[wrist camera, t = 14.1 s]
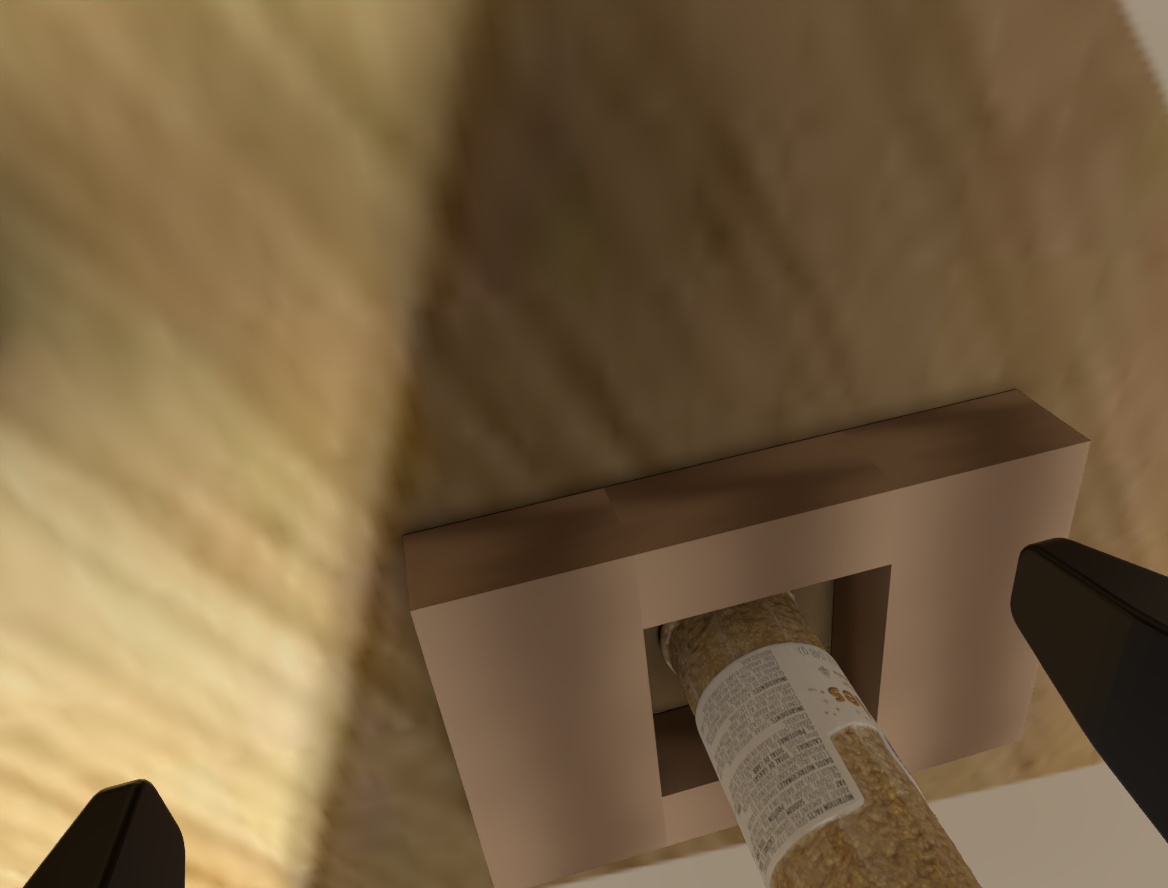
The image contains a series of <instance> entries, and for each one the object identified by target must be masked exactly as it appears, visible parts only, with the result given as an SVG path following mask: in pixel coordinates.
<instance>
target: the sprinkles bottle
mask: <svg viewBox="0 0 1168 888" xmlns="http://www.w3.org/2000/svg"><path fill="white" fill-rule="evenodd" d="M660 646H661V650H662V654H663V657H664V659H665V661H666V663H667V665H668V666H669V668H670V669H671V670H672V671H673V672H674V673H675V674H676V675H677V678H678V680H679V682H680V684H681V686H682V689H683V690H684V693H685V695H686V698H687V701H688V703H689V706H690V708H691V710H692V712H693V714H694V715H695V720H696V725H697V729H698V732H699V734H700V737H701V739H702V741H703V744H704V746H705V748H706V750H707V753H708V755H709V757H710V760H711V762H712V764H713V767H714V769H715V771H716V774H717V776H718V778H719V781H720V783H721V785H722V788H723V790H724V792H725V794H726V797H727V799H728V801H729V804H730V806H731V808H732V811H733V813H734V815H735V818H736V820H737V822H738V825H739V827H740V829H741V831H742V834H743V836H744V838H745V841H746V843H747V845H748V847H749V849H750V852H751V854H752V856H753V859H754V861H755V863H756V865H757V868H758V870H759V872H760V874H761V877H762V879H763V881H764V883H765V885H766V888H982V887H981V886H980V884H979V883H978V882H977V880H976V878H975V876H974V875H973V873H972V871H971V869H970V868H969V867H968V865H967V864H966V863H965V862H964V860H963V858H962V856H961V855H960V853H959V852H958V850H957V849H956V847H955V845H954V843H953V842H952V841H951V839H950V838H949V836H948V835H947V834H946V832H945V831H944V829H943V828H942V826H941V825H940V823H939V822H938V819H937V817H936V816H935V814H934V813H933V812H932V811H931V810H930V808H929V806H928V805H927V801H926V800H925V798H924V796H923V794H922V793H921V791H920V789H919V787H918V786H917V784H916V783H915V781H914V780H913V778H912V776H911V775H910V773H909V772H908V770H907V769H906V767H905V766H904V764H903V763H902V761H901V760H900V758H899V757H898V755H897V754H896V752H895V751H894V749H893V748H892V746H891V744H890V743H889V741H888V740H887V738H886V737H885V735H884V734H883V732H882V731H881V729H880V727H879V726H878V724H877V723H876V722H875V720H874V719H873V717H872V716H871V714H870V713H869V711H868V710H867V708H866V707H865V705H864V704H863V702H862V701H861V699H860V698H859V696H858V695H857V693H856V691H855V690H854V688H853V687H852V685H851V684H850V682H849V681H848V679H847V678H846V676H845V675H844V673H843V672H842V670H841V669H840V667H839V666H838V664H837V662H836V661H835V660H834V659H833V658H832V657H831V656H830V655H829V654H828V653H827V652H826V650H825V649H824V647H823V646H822V644H821V643H820V640H819V639H818V637H817V636H816V634H815V633H814V632H813V630H812V629H811V627H810V626H809V625H808V623H807V622H806V620H805V619H804V617H803V615H802V613H801V612H800V610H799V608H798V605H797V601H796V598H795V596H794V594H793V593H792V591H787V592H783V593H780V594H776V595H772V596H768V597H764V598H761V599H757V600H753V601H749V602H745V603H742V604H738V605H734V606H730V607H726V608H723V609H719V610H715V611H711V612H707V613H704V614H700V615H696V616H692V617H688V618H685V619H681V620H677V621H673V622H669V623H666V624H663V625H662V628H661V633H660Z"/></svg>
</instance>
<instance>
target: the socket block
mask: <svg viewBox="0 0 1168 888" xmlns="http://www.w3.org/2000/svg"><path fill="white" fill-rule="evenodd" d="M1090 443H1091V440H1089V439H1088V438H1086V437H1085V436H1083V435H1082V434H1080V433H1079V432H1078V431H1076V430H1075V429H1073V428H1072V427H1070V426H1069V425H1068V424H1066V423H1065V422H1063V421H1062V420H1060V419H1059V418H1057V417H1056V416H1055V415H1053V414H1052V413H1050V412H1049V411H1047V410H1046V409H1045V408H1043V407H1042V406H1040V405H1039V404H1037V403H1036V402H1034V401H1033V400H1032V399H1030V398H1029V397H1027V396H1026V395H1024V394H1023V393H1022V392H1020V391H1019V390H1013V391H1008V392H1004V393H1000V394H996V395H992V396H987V397H983V398H979V399H975V400H971V401H966V402H962V403H958V404H954V405H950V406H945V407H941V408H937V409H933V410H929V411H924V412H920V413H916V414H912V415H908V416H903V417H899V418H895V419H891V420H887V421H882V422H878V423H874V424H870V425H866V426H861V427H857V428H853V429H849V430H845V431H841V432H836V433H832V434H828V435H824V436H820V437H815V438H811V439H807V440H803V441H799V442H794V443H790V444H786V445H782V446H778V447H773V448H769V449H765V450H761V451H757V452H752V453H748V454H744V455H740V456H736V457H731V458H727V459H723V460H719V461H715V462H710V463H706V464H702V465H698V466H694V467H689V468H685V469H681V470H677V471H673V472H669V473H664V474H660V475H656V476H652V477H648V478H643V479H639V480H635V481H631V482H627V483H622V484H618V485H614V486H610V487H606V488H601V489H597V490H593V491H589V492H585V493H580V494H576V495H572V496H568V497H564V498H559V499H555V500H551V501H547V502H543V503H538V504H534V505H530V506H526V507H522V508H518V509H513V510H509V511H505V512H501V513H497V514H492V515H488V516H484V517H480V518H476V519H471V520H467V521H463V522H459V523H455V524H450V525H446V526H442V527H438V528H434V529H429V530H425V531H421V532H417V533H413V534H408V535H404V536H402V537H403V547H404V557H405V566H406V576H407V586H408V596H409V606H410V613H411V616H412V619H413V623H414V626H415V629H416V632H417V636H418V639H419V642H420V646H421V649H422V652H423V655H424V659H425V662H426V665H427V668H428V672H429V675H430V678H431V682H432V685H433V688H434V691H435V695H436V698H437V701H438V704H439V708H440V711H441V714H442V718H443V721H444V724H445V727H446V731H447V734H448V737H449V741H450V744H451V747H452V750H453V754H454V757H455V760H456V763H457V767H458V770H459V773H460V777H461V780H462V783H463V786H464V790H465V793H466V796H467V799H468V803H469V806H470V809H471V813H472V816H473V819H474V822H475V826H476V829H477V832H478V835H479V839H480V842H481V845H482V849H483V852H484V855H485V858H486V862H487V865H488V868H489V871H490V875H491V878H492V881H493V885H494V888H530V887H533V886H536V885H540V884H543V883H546V882H550V881H553V880H556V879H560V878H563V877H566V876H570V875H573V874H576V873H580V872H583V871H586V870H590V869H593V868H596V867H600V866H603V865H606V864H610V863H613V862H616V861H620V860H623V859H626V858H630V857H633V856H636V855H640V854H643V853H646V852H650V851H653V850H656V849H660V848H663V847H667V846H670V845H673V844H677V843H680V842H683V841H687V840H690V839H693V838H697V837H700V836H703V835H707V834H710V833H713V832H717V831H720V830H723V829H727V828H730V827H733V826H737V825H738V822H737V820H736V818H735V815H734V813H733V811H732V808H731V806H730V804H729V801H728V799H727V797H726V794H725V792H724V790H723V788H722V785H721V783H720V781H719V778H718V776H717V774H716V771H715V769H714V767H713V764H712V762H711V760H710V757H709V755H708V753H707V750H706V748H705V746H704V744H703V741H702V739H701V737H700V734H699V732H698V729H697V725H696V720H695V715H694V714H693V712H692V710H691V708H690V706H686V707H683V708H679V709H676V710H672V711H668V712H665V713H661V714H658V715H654V716H653V713H652V704H651V695H650V686H649V677H648V668H647V660H646V651H645V642H644V633H643V629H647V628H650V627H654V626H658V625H662V624H666V623H669V622H673V621H677V620H681V619H685V618H688V617H692V616H696V615H700V614H704V613H707V612H711V611H715V610H719V609H723V608H726V607H730V606H734V605H738V604H742V603H745V602H749V601H753V600H757V599H761V598H764V597H768V596H772V595H776V594H780V593H783V592H787V591H791V590H795V589H799V588H803V587H806V586H810V585H814V584H818V583H822V582H825V581H829V580H833V579H835V589H834V610H833V630H832V651H831V657H832V658H833V659H834V660H835V661H836V662H837V664H838V666H839V667H840V669H841V670H842V672H843V673H844V675H845V676H846V678H847V679H848V681H849V682H850V684H851V685H852V687H853V688H854V690H855V691H856V693H857V695H858V696H859V698H860V699H861V701H862V702H863V704H864V705H865V707H866V708H867V710H868V711H869V713H870V714H871V716H872V717H873V719H874V720H875V722H876V723H877V724H878V726H879V727H880V729H881V731H882V732H883V734H884V735H885V737H886V738H887V740H888V741H889V743H890V744H891V746H892V748H893V749H894V751H895V752H896V754H897V755H898V757H899V758H900V760H901V761H902V763H903V764H904V766H905V767H906V769H907V770H908V772H909V773H914V772H917V771H920V770H924V769H927V768H930V767H934V766H937V765H940V764H944V763H947V762H950V761H954V760H957V759H960V758H964V757H967V756H970V755H974V754H977V753H980V752H984V751H987V750H990V749H994V748H997V747H1000V746H1004V745H1007V744H1011V743H1014V742H1017V741H1021V740H1022V737H1023V733H1024V728H1025V724H1026V720H1027V715H1028V711H1029V707H1030V702H1031V698H1032V694H1033V689H1034V685H1035V681H1036V676H1037V672H1038V668H1039V663H1040V662H1039V660H1038V659H1037V657H1036V656H1035V654H1034V653H1033V651H1032V649H1031V648H1030V646H1029V645H1028V643H1027V641H1026V640H1025V638H1024V637H1023V635H1022V633H1021V632H1020V630H1019V629H1018V627H1017V625H1016V623H1015V621H1014V619H1013V616H1012V613H1011V607H1010V599H1011V593H1012V588H1013V583H1014V578H1015V573H1016V568H1017V563H1018V558H1019V555H1020V552H1021V551H1022V550H1023V548H1024V547H1025V546H1027V545H1029V544H1033V543H1036V542H1040V541H1044V540H1048V539H1052V538H1060V537H1061V538H1066V539H1068V538H1069V534H1070V529H1071V525H1072V521H1073V516H1074V512H1075V508H1076V503H1077V499H1078V495H1079V490H1080V486H1081V482H1082V477H1083V473H1084V469H1085V464H1086V460H1087V456H1088V452H1089V447H1090Z"/></svg>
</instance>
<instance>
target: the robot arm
mask: <svg viewBox="0 0 1168 888" xmlns="http://www.w3.org/2000/svg"><path fill="white" fill-rule="evenodd" d="M1010 607H1011V613H1012V616H1013V619H1014V621H1015V623H1016V625H1017V627H1018V629H1019V630H1020V632H1021V633H1022V635H1023V637H1024V638H1025V640H1026V641H1027V643H1028V645H1029V646H1030V648H1031V649H1032V651H1033V653H1034V654H1035V656H1036V657H1037V659H1038V660H1039V662H1040V664H1041V665H1042V667H1043V668H1044V670H1045V672H1046V673H1047V675H1048V676H1049V678H1050V680H1051V681H1052V683H1053V684H1054V686H1055V687H1056V689H1057V691H1058V692H1059V694H1060V695H1061V697H1062V699H1063V700H1064V702H1065V703H1066V705H1067V707H1068V708H1069V710H1070V711H1071V713H1072V715H1073V716H1074V718H1075V719H1076V721H1077V722H1078V724H1079V726H1080V727H1081V729H1082V730H1083V732H1084V733H1085V735H1086V736H1087V738H1088V739H1089V741H1090V742H1091V743H1092V745H1093V746H1094V748H1095V749H1096V751H1097V752H1098V753H1099V755H1100V756H1101V757H1102V759H1103V760H1104V761H1105V763H1106V764H1107V765H1108V767H1109V768H1110V769H1111V771H1112V772H1113V773H1114V774H1115V776H1116V777H1117V778H1118V780H1119V781H1120V782H1121V784H1122V785H1123V786H1124V787H1125V789H1126V790H1127V791H1128V793H1129V794H1130V795H1131V796H1132V798H1133V799H1134V800H1135V802H1136V803H1137V804H1138V805H1139V807H1140V808H1141V809H1142V811H1143V812H1144V813H1145V815H1147V817H1148V818H1149V820H1150V821H1151V822H1152V824H1153V825H1154V826H1155V827H1156V828H1157V830H1158V831H1159V833H1160V834H1161V835H1162V837H1163V838H1164V839H1165V840H1166V842H1167V843H1168V577H1167V576H1164V575H1161V574H1159V573H1156V572H1154V571H1151V570H1148V569H1146V568H1143V567H1141V566H1138V565H1135V564H1133V563H1130V562H1127V561H1125V560H1122V559H1120V558H1117V557H1114V556H1112V555H1109V554H1106V553H1104V552H1101V551H1099V550H1096V549H1093V548H1091V547H1088V546H1086V545H1083V544H1080V543H1078V542H1075V541H1072V540H1070V539H1066V538H1061V537H1060V538H1052V539H1048V540H1044V541H1040V542H1036V543H1033V544H1029V545H1027V546H1025V547H1024V548H1023V550H1022V551H1021V552H1020V555H1019V558H1018V563H1017V568H1016V573H1015V578H1014V583H1013V588H1012V593H1011V599H1010ZM23 888H185V847H184V841H183V836H182V833H181V831H180V828H179V826H178V825H177V823H176V821H175V820H174V818H173V817H172V815H171V813H170V812H169V810H168V808H167V807H166V805H165V803H164V802H163V800H162V798H161V797H160V795H159V793H158V792H157V790H156V789H155V787H154V786H153V785H152V783H151V782H149V781H147V780H145V779H138V780H134V781H130V782H126V783H123V784H119V785H115V786H111V787H108V788H105V789H102V790H101V791H99V792H98V793H97V794H96V795H94V796H93V798H92V799H91V800H90V801H89V802H88V804H87V805H86V806H85V808H84V809H83V810H82V811H81V813H80V814H79V815H78V817H77V818H76V819H75V821H74V822H73V823H72V824H71V826H70V827H69V828H68V830H67V831H66V832H65V833H64V835H63V836H62V837H61V839H60V840H59V841H58V843H57V844H56V845H55V846H54V848H53V849H52V850H51V852H50V853H49V854H48V855H47V857H46V858H45V859H44V861H43V862H42V863H41V865H40V866H39V867H38V868H37V870H36V871H35V872H34V874H33V875H32V876H31V877H30V879H29V880H28V881H27V883H26V884H25V885H24V887H23Z"/></svg>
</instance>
